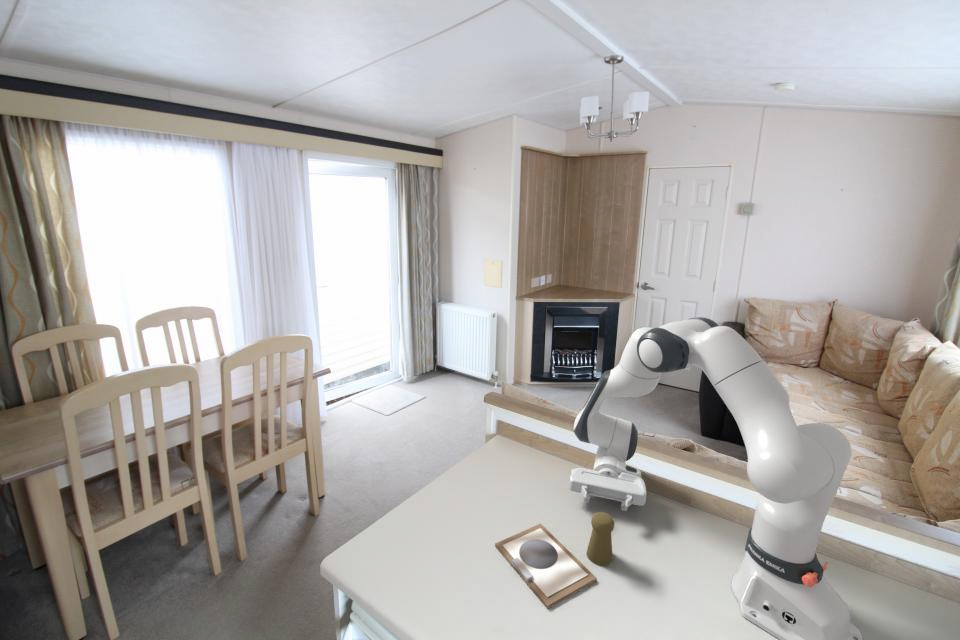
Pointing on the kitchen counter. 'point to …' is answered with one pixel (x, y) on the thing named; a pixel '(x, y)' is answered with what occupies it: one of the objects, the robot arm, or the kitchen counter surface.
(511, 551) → the clipboard
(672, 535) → the kitchen counter surface
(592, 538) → the cork
